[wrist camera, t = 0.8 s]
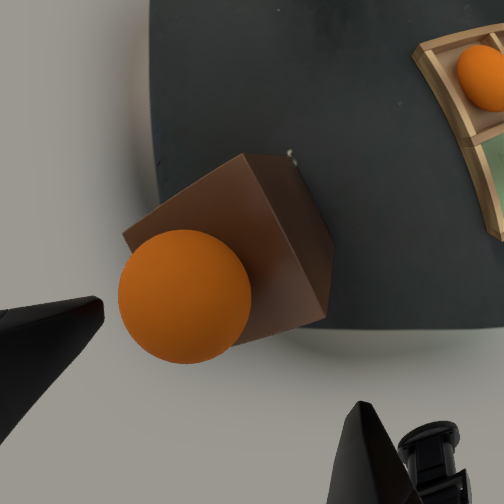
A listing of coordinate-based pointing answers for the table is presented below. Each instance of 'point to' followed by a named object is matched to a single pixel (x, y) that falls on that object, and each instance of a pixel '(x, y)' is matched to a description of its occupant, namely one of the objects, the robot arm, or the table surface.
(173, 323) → the clementine
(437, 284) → the table surface
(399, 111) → the table surface
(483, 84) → the clementine
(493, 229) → the fruit rack
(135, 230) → the brown wooden block
